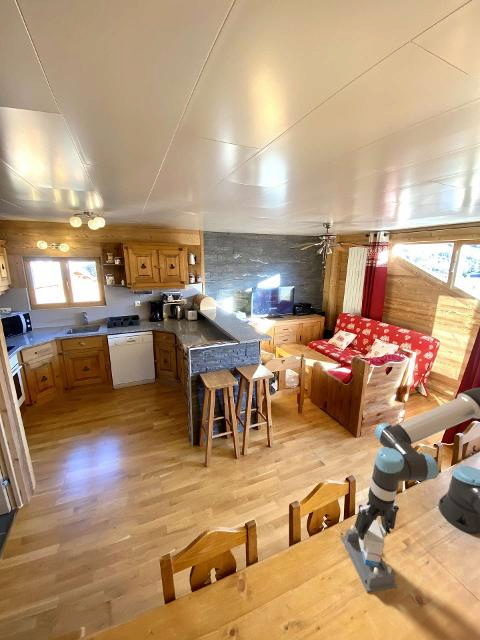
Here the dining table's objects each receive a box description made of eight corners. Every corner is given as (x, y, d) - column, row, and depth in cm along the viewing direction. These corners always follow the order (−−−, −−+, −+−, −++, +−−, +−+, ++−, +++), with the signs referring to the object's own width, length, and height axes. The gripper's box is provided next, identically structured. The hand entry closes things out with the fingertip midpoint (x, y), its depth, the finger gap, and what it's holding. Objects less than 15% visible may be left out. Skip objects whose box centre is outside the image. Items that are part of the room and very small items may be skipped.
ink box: (379, 568, 91) (385, 543, 88) (364, 565, 91) (369, 540, 88) (372, 542, 99) (377, 518, 96) (358, 539, 100) (362, 515, 97)
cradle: (366, 534, 105) (369, 520, 103) (396, 587, 89) (401, 571, 87) (341, 538, 103) (343, 523, 101) (367, 592, 87) (370, 576, 85)
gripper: (399, 479, 93) (387, 529, 99) (349, 484, 90) (340, 535, 96) (416, 499, 86) (402, 551, 92) (362, 505, 83) (351, 558, 89)
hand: (370, 543), depth 94 cm, fingers closed on ink box, 6 cm apart
